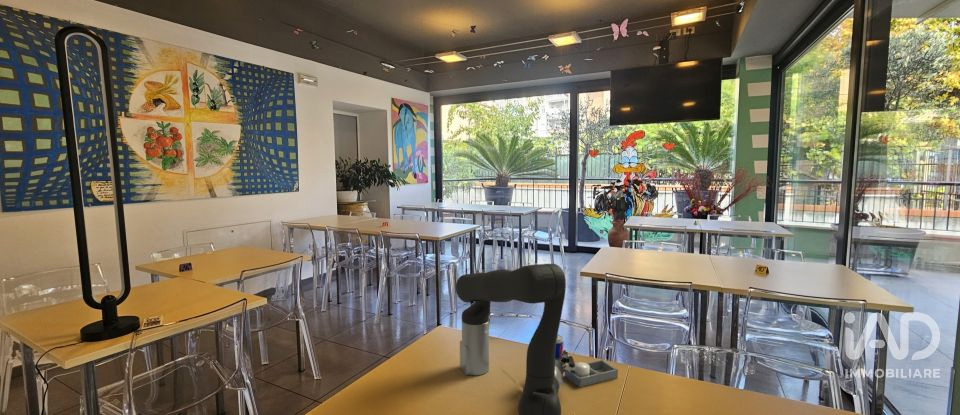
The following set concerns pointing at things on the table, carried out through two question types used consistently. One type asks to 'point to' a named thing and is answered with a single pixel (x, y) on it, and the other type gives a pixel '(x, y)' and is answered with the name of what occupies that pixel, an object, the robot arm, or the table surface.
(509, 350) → the table surface
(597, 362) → the carrier
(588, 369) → the ball
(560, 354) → the beverage can
